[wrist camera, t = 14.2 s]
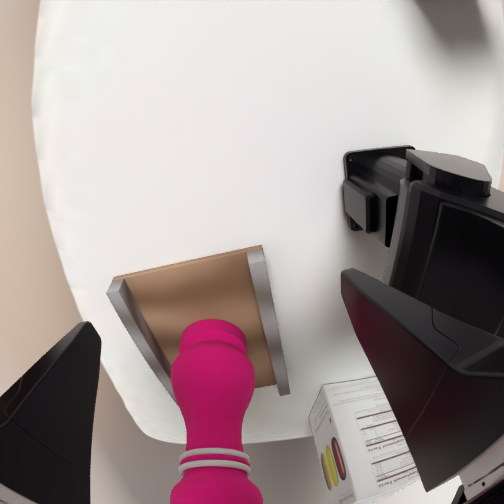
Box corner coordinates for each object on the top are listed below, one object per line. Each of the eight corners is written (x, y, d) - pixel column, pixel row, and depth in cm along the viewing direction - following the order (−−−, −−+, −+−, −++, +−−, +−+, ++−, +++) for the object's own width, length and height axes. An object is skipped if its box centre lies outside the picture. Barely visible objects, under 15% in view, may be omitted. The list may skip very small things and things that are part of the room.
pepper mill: (235, 370, 29) (252, 553, 12) (169, 355, 27) (154, 550, 10) (262, 324, 26) (302, 548, 9) (185, 304, 24) (169, 554, 7)
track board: (113, 277, 23) (105, 293, 21) (261, 244, 23) (265, 260, 21) (182, 394, 32) (181, 410, 30) (287, 377, 32) (290, 393, 30)
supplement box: (321, 383, 33) (357, 501, 19) (383, 373, 34) (428, 474, 20) (307, 418, 38) (330, 515, 23) (361, 408, 39) (392, 496, 24)
